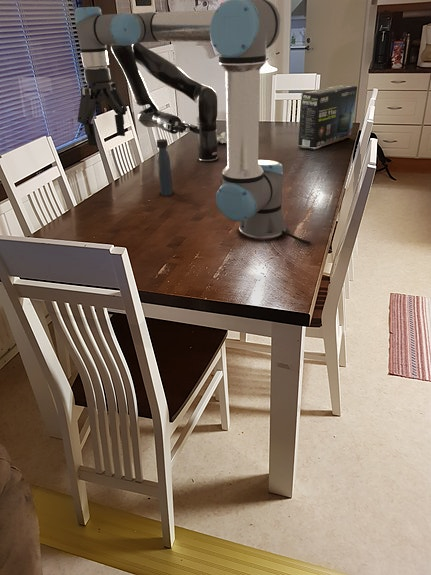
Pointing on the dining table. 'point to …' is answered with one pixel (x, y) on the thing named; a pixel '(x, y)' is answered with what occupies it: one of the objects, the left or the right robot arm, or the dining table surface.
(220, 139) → the fossil
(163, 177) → the bottle
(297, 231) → the dining table surface
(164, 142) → the cap
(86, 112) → the right robot arm
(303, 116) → the router box
